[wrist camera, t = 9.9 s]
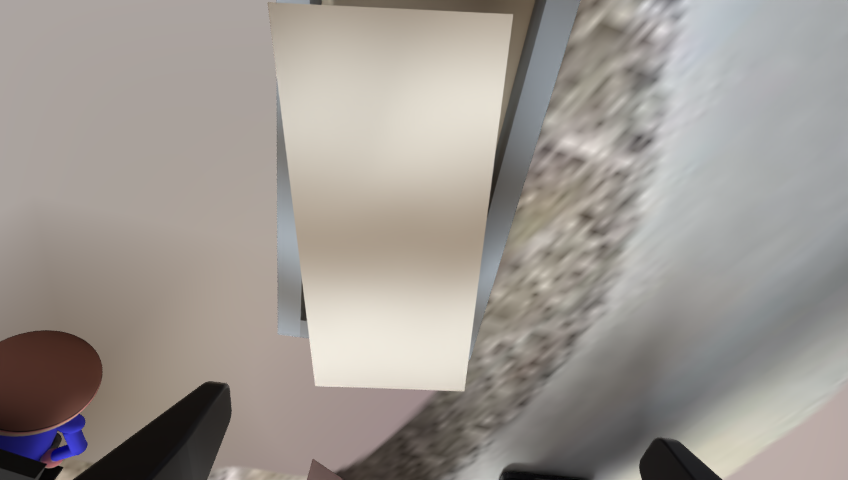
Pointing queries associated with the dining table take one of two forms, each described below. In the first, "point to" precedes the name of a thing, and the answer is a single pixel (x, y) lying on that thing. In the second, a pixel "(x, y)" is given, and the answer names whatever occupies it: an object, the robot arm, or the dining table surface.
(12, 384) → the figurine character
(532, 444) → the dining table surface
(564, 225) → the dining table surface
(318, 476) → the greeting card
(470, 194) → the block
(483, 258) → the jig board
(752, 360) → the dining table surface
